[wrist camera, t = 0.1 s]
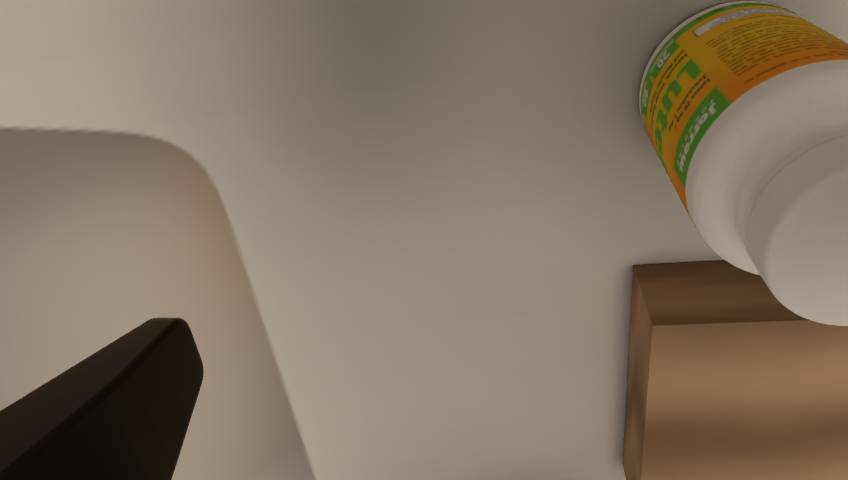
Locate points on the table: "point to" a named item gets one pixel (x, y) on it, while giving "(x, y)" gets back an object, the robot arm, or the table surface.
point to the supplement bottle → (759, 146)
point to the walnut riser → (730, 381)
